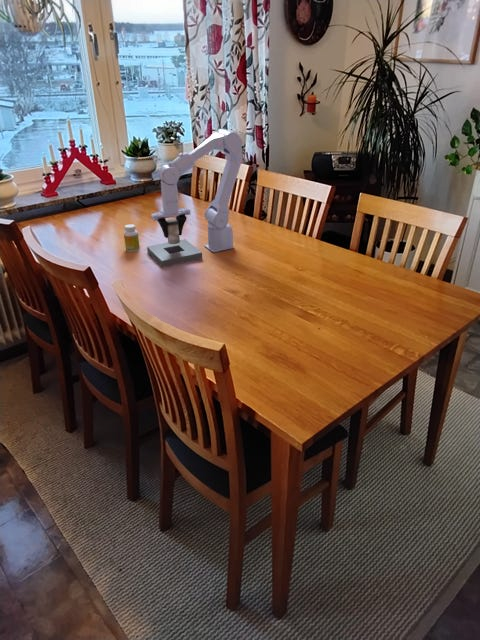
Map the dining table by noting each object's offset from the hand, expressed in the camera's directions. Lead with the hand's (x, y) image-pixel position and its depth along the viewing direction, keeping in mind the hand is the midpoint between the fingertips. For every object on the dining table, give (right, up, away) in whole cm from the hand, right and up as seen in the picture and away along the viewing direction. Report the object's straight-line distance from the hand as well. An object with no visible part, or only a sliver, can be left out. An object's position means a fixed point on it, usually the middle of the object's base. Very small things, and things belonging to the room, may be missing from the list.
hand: (172, 235), depth 180 cm
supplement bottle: (-17, -4, +10) cm, 20 cm away
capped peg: (0, -2, +1) cm, 2 cm away
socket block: (0, -7, +4) cm, 8 cm away
